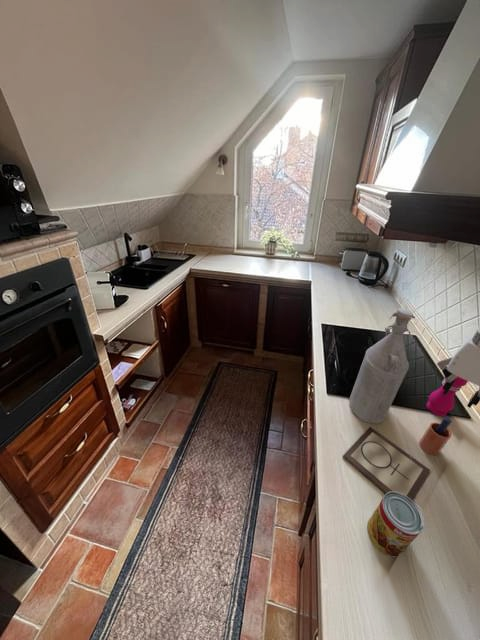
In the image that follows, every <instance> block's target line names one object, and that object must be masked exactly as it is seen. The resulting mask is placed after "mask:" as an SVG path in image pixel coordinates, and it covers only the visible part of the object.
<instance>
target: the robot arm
mask: <svg viewBox="0 0 480 640" xmlns="http://www.w3.org/2000/svg"><path fill="white" fill-rule="evenodd" d="M437 366H438V368H439V369H440V371H441V372H442V374H443V376H445V377H444V379H445V378H446V383H445V384H444V386H443V388H442V389H444V390H445V391H444V392H443V394H444V395H446V394H447V393H448V391H449V390H450V388H451V387H452V385H453V383H454V382H455V378H457V377H460V378H463V379H465V380H467V381H468V382H469V383H471V384H473V385H475V386H478V387H479V388H478V390H476V391H475V392H474V394H473V396H472V397H471V398H470V400H469V402H468V403H467V404H466V406H467V408H472V406H473V405H474V406H477V405H478V404H479V403H480V325H479V326H478V328H477V329H476V331H475V332H474V333H473V336H469V337H467V338H466V339H465V340H464V342H462V344H461V345H460V346H459V348H458V349H457V350H456V352H455V353H454V355H453V356H452V357H449V358H446V359H445V358H444V359H442V360H439V361H438V362H437Z"/></svg>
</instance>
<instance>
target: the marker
mask: <svg viewBox="0 0 480 640" xmlns="http://www.w3.org/2000/svg"><path fill="white" fill-rule="evenodd" d="M439 423H440V425H439V426H438V428H437V429H436V431H435V433H437V434H438V435H440V436H442V435H443V433H444V432H445V430H446V429H447V428H448V429H449V426H450V425H451V424H452V419H451V418H450V417H448V416H443V419H442V420H441V422H439Z"/></svg>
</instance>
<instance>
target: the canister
mask: <svg viewBox="0 0 480 640" xmlns="http://www.w3.org/2000/svg"><path fill="white" fill-rule="evenodd" d="M394 317H395V321H394V322H393V323H392V324H391V325H388V326H385V328H384V331H385V336H384V337H383V338H382V339H380V340H378V341H377V342H376V343H375V344H373V345H372V346H370V347H368V348H367V349H366V351H365V354H364V357H363V360H362V363H361V365H360V368H359V371H358V373H357V377H356V380H355V382H354V385H353V387H352V391H351V394H350V396H349V400H348V402H349V407H350V410H351V411H352V412H353V414H354V415H355V416H356V417H357V418H358V419H359V420H362V421H364V422H366V423H369V424H380V423H383V422H384V421H385V420H386V417H387V414H388V412H389V410H390V408H391V406H392V404H393V402H394V400H395V398H396V397H397V393H398V392H399V390H400V387H401V385H402V383H403V381H404V379H405V377H406V375H407V373H408V371H409V368H410V364H409V361H408V357H407V351H406V348H405V347H406V346H405V342H404V341H405V340H404V337H403V335H404V333H405V332H408V335H407V336H406V341H409V340H410V339H411V338H413V335H414V334H411V331H410V330H409V329H408V324H409V322H410V321H411V320H412V319H414V320H416V317H415V315H414V313H413V312H412V311H410V310H409V309H405V308H403V307H402V308H401V307H399V308H397V311H396V312H394V313H392V315H391V316H390V318H389V320H391V319H392V318H394ZM414 325H416V323H415V322H414Z"/></svg>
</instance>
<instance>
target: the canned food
mask: <svg viewBox="0 0 480 640" xmlns="http://www.w3.org/2000/svg"><path fill="white" fill-rule="evenodd" d="M424 528H425V519H424V514H423V513H422V511H421V508H420V507H419V506H418V505H417V504H416V502H415V501H414V500H413V501H412V500H411V499H410V498H409V497H407V496H406V495H404V494H402V493H399V492H395V491H391V492H388V493H386V494H385V493H384V496H383V497H382V498H381V500H380V502H379V503H378V504H377V506H376V508H375V509H374V511H373V512H372V514H371V516H370V517H369V519H368V521H367V525H366V529H367V530H366V531H367V534H368V537H369V539H370V541H371V540H372V541H371V543H372V544H373V545H374V547H375V548H376V547H377V548H376V549H377V550H378V551H379V552H381V553H382V552H383V553H382V554H384V553H385V554H384V555H386V556H388V555H389V557H393V556H396V557H398V556H399V555H400V554H402V553H403V552H404V551H405V550H406V549H407V548H409V546H410V545H411V544H412V542H414V540H415V539H416V538H417V537H419V535H420V534H421V533H422V532H423V530H424Z"/></svg>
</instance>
